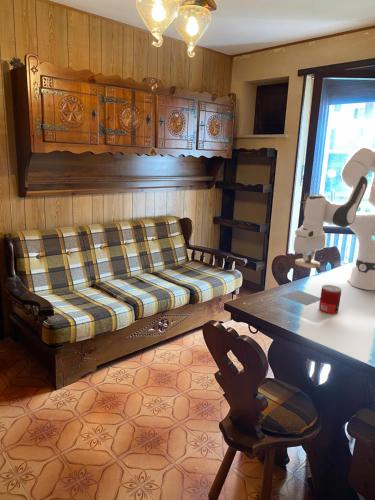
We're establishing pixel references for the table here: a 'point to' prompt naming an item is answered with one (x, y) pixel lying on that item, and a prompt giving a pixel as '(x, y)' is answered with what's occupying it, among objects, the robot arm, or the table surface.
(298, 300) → the mat
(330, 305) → the canned food
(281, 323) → the table surface
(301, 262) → the lid
